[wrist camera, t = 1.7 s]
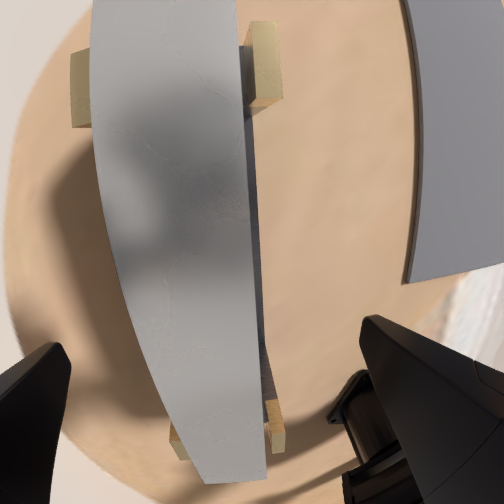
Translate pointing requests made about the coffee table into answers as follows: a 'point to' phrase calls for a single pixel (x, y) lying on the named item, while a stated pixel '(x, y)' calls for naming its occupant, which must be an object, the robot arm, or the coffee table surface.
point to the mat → (458, 136)
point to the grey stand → (254, 100)
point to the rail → (182, 216)
